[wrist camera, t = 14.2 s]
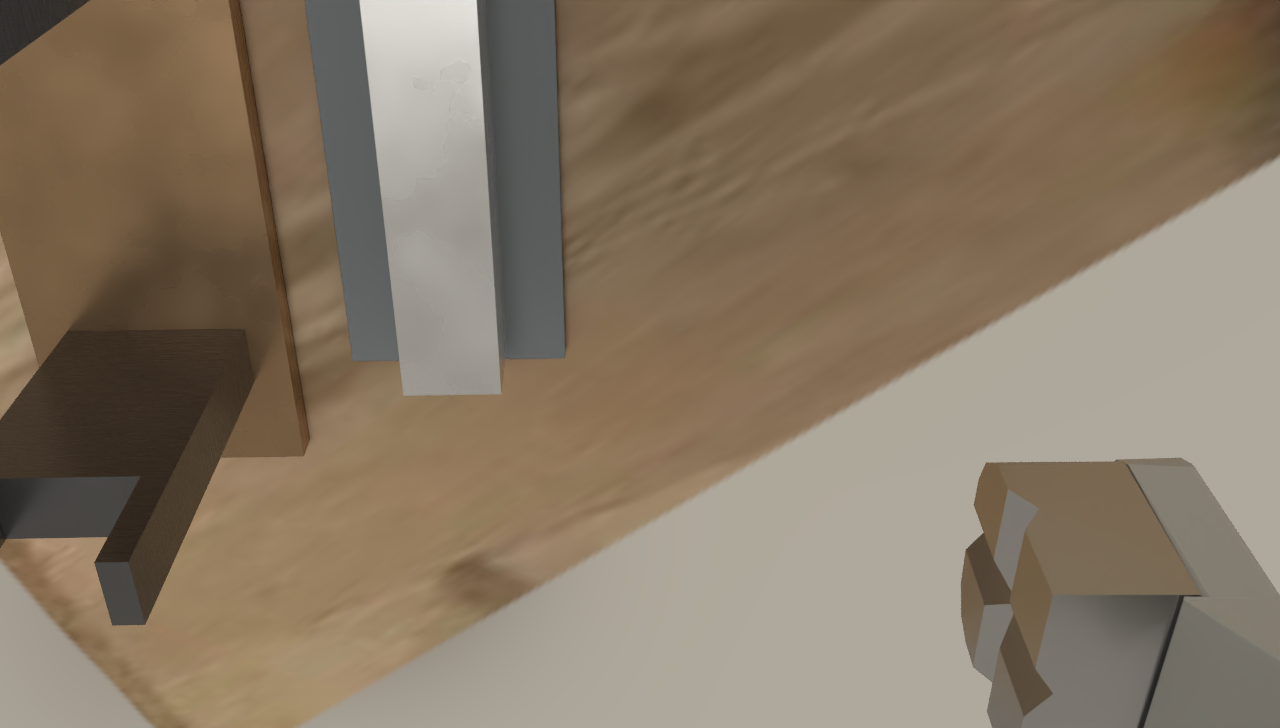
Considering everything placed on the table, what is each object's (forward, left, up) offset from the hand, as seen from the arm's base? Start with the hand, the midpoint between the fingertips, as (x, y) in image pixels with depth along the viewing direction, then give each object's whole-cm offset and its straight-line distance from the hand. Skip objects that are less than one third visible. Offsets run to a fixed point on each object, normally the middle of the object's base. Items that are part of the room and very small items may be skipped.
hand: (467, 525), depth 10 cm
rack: (+13, +7, -28) cm, 32 cm away
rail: (+3, +4, -27) cm, 28 cm away
